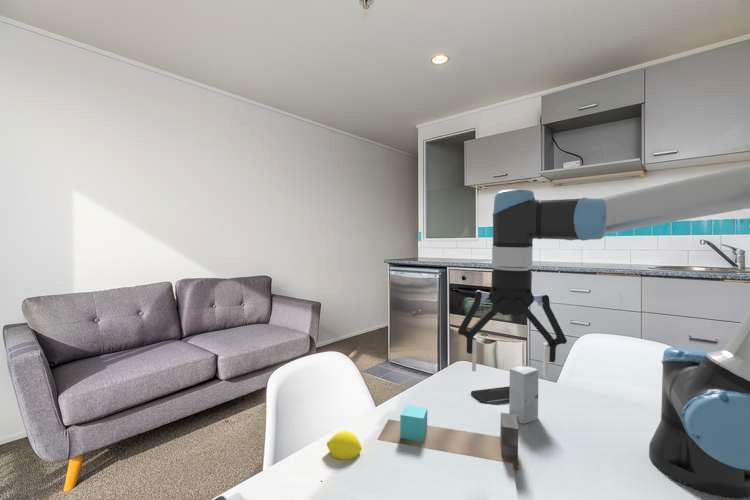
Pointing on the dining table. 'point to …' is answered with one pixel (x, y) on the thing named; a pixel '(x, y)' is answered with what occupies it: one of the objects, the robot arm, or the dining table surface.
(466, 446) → the walnut strip
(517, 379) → the skincare box
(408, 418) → the teal block
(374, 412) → the dining table surface
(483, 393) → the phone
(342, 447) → the lemon
